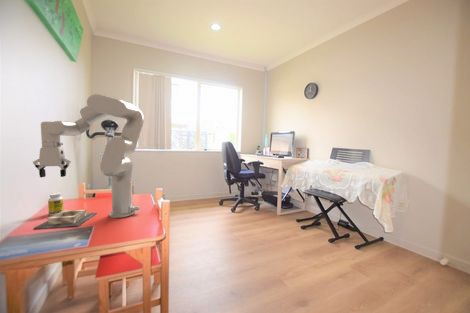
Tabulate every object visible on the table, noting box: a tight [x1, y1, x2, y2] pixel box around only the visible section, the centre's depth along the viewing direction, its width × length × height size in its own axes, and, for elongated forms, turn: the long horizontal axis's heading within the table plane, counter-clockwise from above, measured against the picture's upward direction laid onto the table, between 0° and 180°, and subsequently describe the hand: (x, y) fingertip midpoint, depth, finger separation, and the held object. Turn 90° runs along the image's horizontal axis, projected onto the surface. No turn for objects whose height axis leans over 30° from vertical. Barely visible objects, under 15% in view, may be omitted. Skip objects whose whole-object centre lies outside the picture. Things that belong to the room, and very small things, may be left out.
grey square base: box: [33, 209, 98, 230], centre depth 104 cm, size 18×18×4 cm
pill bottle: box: [47, 192, 64, 216], centre depth 114 cm, size 6×6×11 cm
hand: (53, 176), depth 113 cm, fingers open, 9 cm apart
